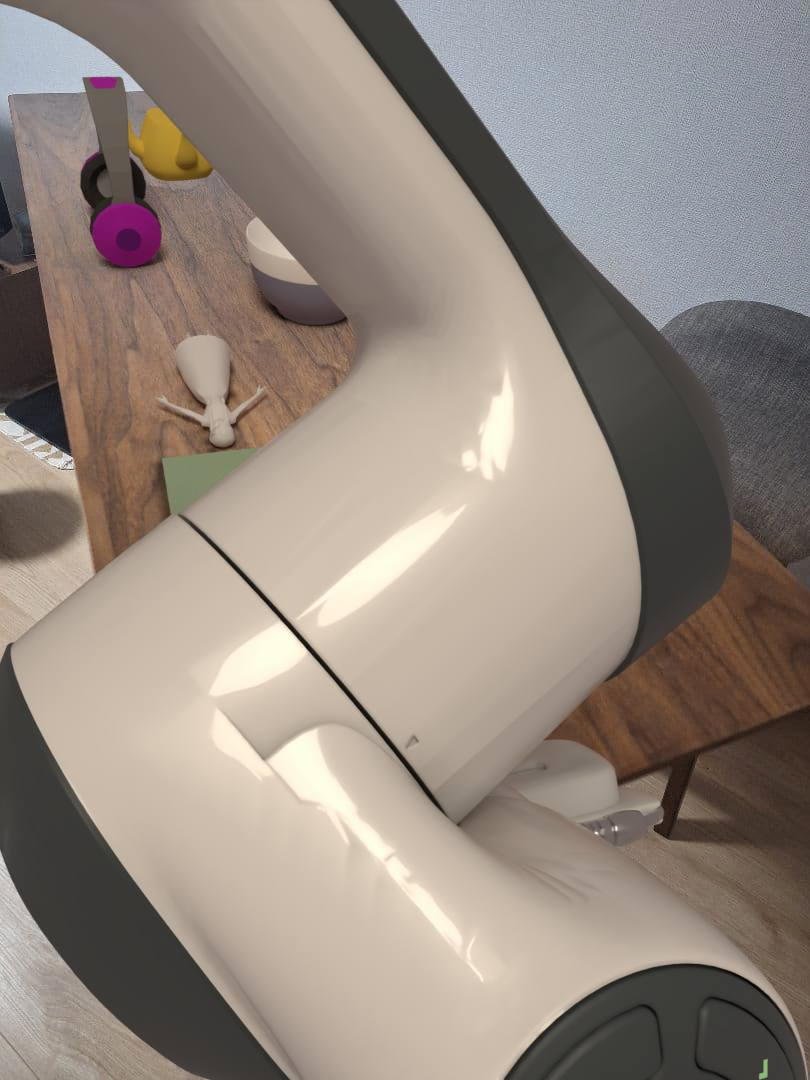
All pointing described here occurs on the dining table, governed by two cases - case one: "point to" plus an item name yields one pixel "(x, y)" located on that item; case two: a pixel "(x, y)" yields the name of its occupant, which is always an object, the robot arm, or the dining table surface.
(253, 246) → the bowl
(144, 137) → the teapot
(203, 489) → the mat
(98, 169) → the headphones
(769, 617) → the dining table surface
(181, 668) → the robot arm
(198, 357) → the woman figurine
